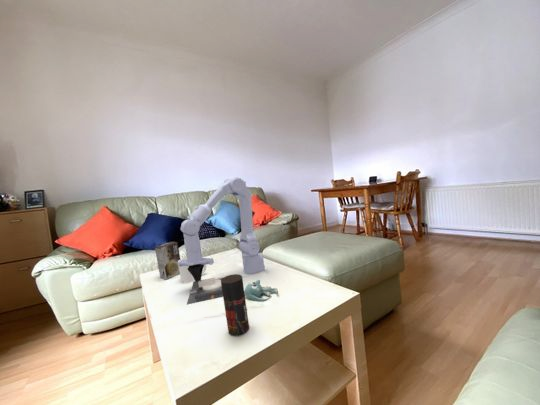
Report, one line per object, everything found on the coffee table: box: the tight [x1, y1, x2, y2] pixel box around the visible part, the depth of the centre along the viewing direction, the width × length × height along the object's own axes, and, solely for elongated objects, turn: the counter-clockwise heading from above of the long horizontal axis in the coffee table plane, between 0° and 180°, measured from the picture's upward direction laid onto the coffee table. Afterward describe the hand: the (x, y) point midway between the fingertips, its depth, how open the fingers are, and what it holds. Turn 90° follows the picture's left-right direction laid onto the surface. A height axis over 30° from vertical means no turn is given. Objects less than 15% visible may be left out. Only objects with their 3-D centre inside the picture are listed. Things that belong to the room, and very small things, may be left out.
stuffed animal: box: [244, 279, 279, 302], centre depth 84 cm, size 11×7×12 cm
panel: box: [186, 276, 225, 306], centre depth 94 cm, size 18×18×3 cm
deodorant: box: [221, 274, 250, 337], centre depth 67 cm, size 6×6×15 cm
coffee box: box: [154, 241, 182, 281], centre depth 119 cm, size 9×6×16 cm
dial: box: [192, 277, 222, 292], centre depth 93 cm, size 11×8×4 cm
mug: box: [178, 256, 207, 284], centre depth 109 cm, size 12×8×10 cm
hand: (198, 282), depth 95 cm, fingers closed
